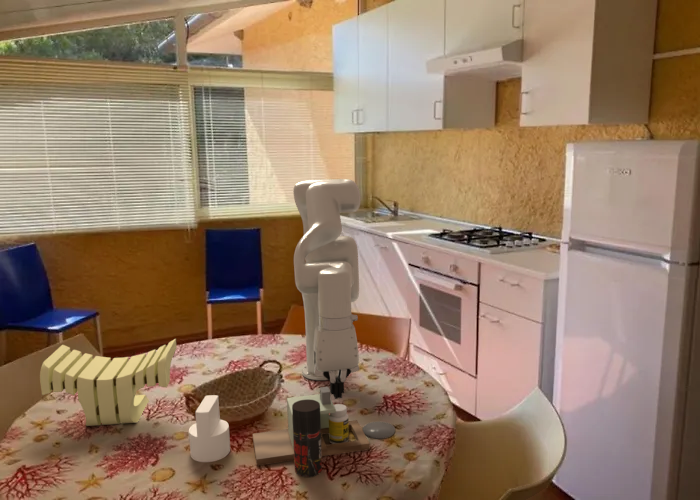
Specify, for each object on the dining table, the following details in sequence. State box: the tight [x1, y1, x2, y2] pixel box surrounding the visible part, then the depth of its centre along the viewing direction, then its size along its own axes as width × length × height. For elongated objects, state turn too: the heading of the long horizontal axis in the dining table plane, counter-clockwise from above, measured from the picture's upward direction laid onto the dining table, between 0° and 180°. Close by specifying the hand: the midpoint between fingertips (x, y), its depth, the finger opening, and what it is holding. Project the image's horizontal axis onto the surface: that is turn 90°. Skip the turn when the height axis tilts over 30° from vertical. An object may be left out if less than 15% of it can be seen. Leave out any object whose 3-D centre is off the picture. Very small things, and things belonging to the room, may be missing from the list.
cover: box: [286, 386, 336, 450], centre depth 137 cm, size 9×10×12 cm
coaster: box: [362, 420, 396, 440], centre depth 144 cm, size 8×8×1 cm
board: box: [252, 419, 371, 467], centre depth 138 cm, size 12×26×2 cm, turn 103°
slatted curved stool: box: [39, 338, 178, 427], centre depth 154 cm, size 30×16×18 cm, turn 96°
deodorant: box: [292, 399, 323, 478], centre depth 127 cm, size 6×6×15 cm
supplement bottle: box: [328, 403, 350, 444], centre depth 139 cm, size 5×5×8 cm
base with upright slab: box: [188, 394, 231, 463], centre depth 135 cm, size 9×9×12 cm
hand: (337, 396), depth 138 cm, fingers closed
